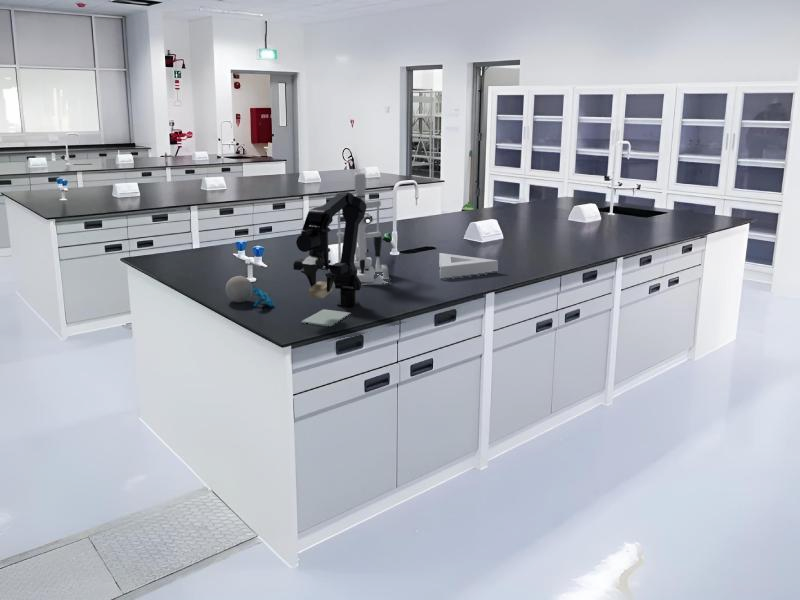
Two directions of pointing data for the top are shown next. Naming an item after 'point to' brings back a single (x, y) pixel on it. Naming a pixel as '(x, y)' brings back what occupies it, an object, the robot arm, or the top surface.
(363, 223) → the microscope
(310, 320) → the mat
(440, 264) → the triangular ruler
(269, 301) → the blue bumpy slanted figure
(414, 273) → the top surface
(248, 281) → the grey ball
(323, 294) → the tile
